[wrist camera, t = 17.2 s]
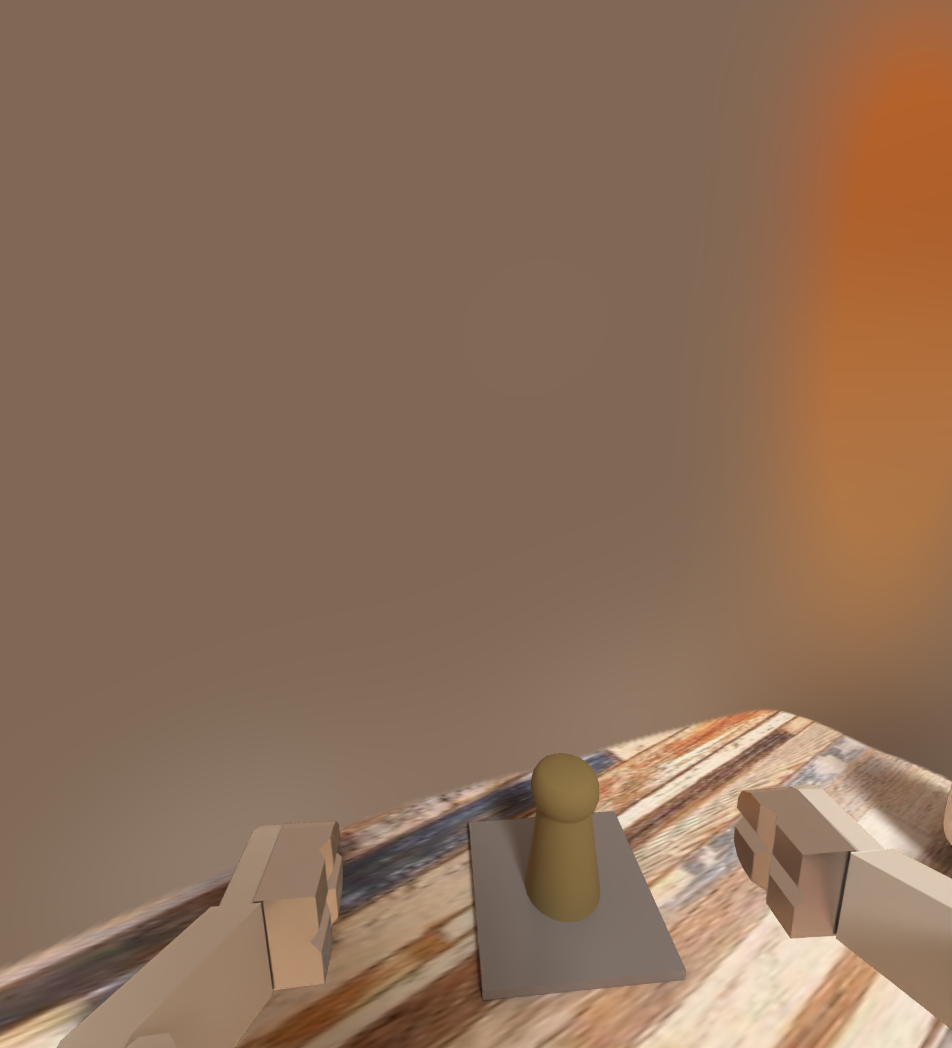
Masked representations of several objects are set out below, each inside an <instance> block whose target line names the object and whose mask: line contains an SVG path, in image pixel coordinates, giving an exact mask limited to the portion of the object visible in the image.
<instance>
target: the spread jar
mask: <svg viewBox="0 0 952 1048" xmlns="http://www.w3.org/2000/svg"><path fill="white" fill-rule="evenodd" d="M943 827H944V833H945V836H946V838H947V840H948V842H949V844H950V846H951V847H952V785H951V788H950V792H949V795H948V800H947V804H946V809H945V814H944V824H943Z"/></svg>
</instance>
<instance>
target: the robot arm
mask: <svg viewBox="0 0 952 1048" xmlns="http://www.w3.org/2000/svg"><path fill="white" fill-rule="evenodd" d="M737 808H738V810H739V811H740V812H741V814H742V815H743V817H742V818H741V819H740V821H739V822H738V823H737V824H736V826H735V833H734V843H735V847H736V852H737V856H738V858H739V860H740V863H741V865H742V867H743V869H744V871H745V872H746V874H747V875H748V877H749V878H750V880H751V881H752V882H754V883H755V884H757V885H758V886H760V887H761V888H763V889H764V890H766V903H767V905H768V906H769V908H770V909H771V911H772V912H773V914H774V915H775V916H776V918H777V919H778V921H779V922H780V924H781V925H782V927H783V928H784V930H785V931H786V933H787V934H788V935H789V937H790V938H805V937H821V936H836V939H837V940H839V941H840V942H841V943H843V944H844V945H845V946H846V947H848V948H849V949H850V950H851V951H853V952H854V953H855V954H857V955H858V956H859V957H860V958H862V959H863V960H864V961H865V962H867V963H868V964H869V965H870V966H872V967H873V968H874V969H876V970H877V971H878V972H879V973H881V974H882V975H883V976H884V977H886V978H887V979H888V980H890V981H891V982H892V983H893V984H895V985H896V986H897V987H898V988H900V989H901V990H902V991H904V992H905V993H906V994H907V995H909V996H910V997H911V998H912V999H914V1000H915V1001H916V1002H917V1003H919V1004H920V1005H921V1006H923V1007H924V1008H925V1009H926V1010H928V1011H929V1012H930V1013H931V1014H933V1015H934V1016H935V1017H937V1018H938V1019H939V1020H940V1021H942V1022H943V1023H944V1024H945V1025H947V1026H948V1027H949V1028H951V1029H952V879H951V878H949V877H947V876H945V875H943V874H941V873H939V872H937V871H936V870H934V869H932V868H930V867H928V866H926V865H924V864H922V863H920V862H918V861H916V860H914V859H912V858H910V857H908V856H906V855H904V854H902V853H900V852H898V851H896V850H894V849H884V848H883V847H882V846H881V845H880V844H879V843H878V842H877V841H876V840H875V839H874V838H873V837H872V836H870V835H869V834H868V833H867V832H866V831H865V830H864V829H863V828H862V827H861V826H860V825H859V824H858V823H857V822H856V821H855V820H854V819H853V818H852V817H851V816H850V815H849V814H848V813H846V812H845V811H844V810H843V809H842V808H841V807H840V806H839V805H838V804H837V803H836V802H835V801H834V800H833V799H832V798H831V797H830V796H829V795H828V794H827V793H826V792H825V791H824V790H823V789H821V788H820V787H818V786H816V785H814V784H811V785H800V786H790V787H781V788H769V789H757V790H745V791H742V792H741V794H740V795H739V797H738V804H737ZM339 841H340V832H339V824H338V823H337V822H336V821H332V822H310V823H288V824H284V825H260V826H258V827H257V828H256V829H255V830H254V831H253V832H252V834H251V836H250V838H249V841H248V843H247V845H246V847H245V849H244V852H243V854H242V856H241V858H240V861H239V863H238V865H237V867H236V869H235V872H234V874H233V876H232V878H231V881H230V883H229V885H228V887H227V889H226V892H225V894H224V896H223V898H222V901H221V903H220V905H219V906H215V907H210V908H209V909H208V910H207V911H205V912H204V913H203V914H202V915H201V916H200V917H199V918H198V919H196V920H195V921H194V922H193V923H192V924H191V925H190V926H189V927H187V928H186V929H185V930H184V931H183V932H182V933H181V934H180V935H179V936H177V937H176V938H175V939H174V940H173V941H172V942H171V943H170V944H168V945H167V946H166V947H165V948H164V949H163V950H162V951H161V952H160V953H158V954H157V955H156V956H155V957H154V958H153V959H152V960H151V961H149V962H148V963H147V964H146V965H145V966H144V967H143V968H142V969H141V970H139V971H138V972H137V973H136V974H135V975H134V976H133V977H132V978H130V979H129V980H128V981H127V982H126V983H125V984H124V985H123V986H122V987H120V988H119V989H118V990H117V991H116V992H115V993H114V994H113V995H111V996H110V997H109V998H108V999H107V1000H106V1001H105V1002H104V1003H103V1004H101V1005H100V1006H99V1007H98V1008H97V1009H96V1010H95V1011H94V1012H92V1013H91V1014H90V1015H89V1016H88V1017H87V1018H86V1019H85V1020H84V1021H82V1022H81V1023H80V1024H79V1025H78V1026H77V1027H76V1028H75V1029H73V1030H72V1031H71V1032H70V1033H69V1034H68V1035H67V1036H66V1037H65V1038H63V1039H62V1040H61V1041H60V1043H59V1045H58V1046H57V1048H235V1047H236V1045H237V1044H238V1042H239V1041H240V1040H241V1038H242V1037H243V1035H244V1034H245V1033H246V1031H247V1030H248V1028H249V1027H250V1026H251V1024H252V1023H253V1022H254V1020H255V1019H256V1017H257V1016H258V1015H259V1013H260V1012H261V1010H262V1009H263V1008H264V1006H265V1005H266V1004H267V1002H268V1001H269V999H270V998H271V997H272V995H273V990H281V989H289V988H296V987H304V986H311V985H319V984H325V979H326V974H327V969H328V964H329V960H330V955H331V950H332V945H333V938H332V926H331V925H332V924H333V922H334V921H335V920H336V919H337V918H338V915H339V909H340V904H341V896H342V886H343V864H342V857H341V856H340V855H339V854H338V853H337V850H338V846H339Z"/></svg>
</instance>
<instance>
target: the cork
mask: <svg viewBox="0 0 952 1048" xmlns="http://www.w3.org/2000/svg"><path fill="white" fill-rule="evenodd" d="M531 791H532V795H533V799H534V802H535V804H536V806H537V812H536V818H535V824H534V830H533V836H532V842H531V848H530V854H529V860H528V866H527V872H526V878H525V887H526V892H527V895H528V897H529V899H530V900H531V902H532V904H533V905H534V906H535V907H536V908H537V909H538V910H539V911H540V912H541V913H542V914H544V915H546V916H548V917H549V918H551V919H553V920H557V921H562V922H575V921H580V920H582V919H584V918H586V917H588V916H589V915H590V914H591V913H592V912H593V911H594V910H595V909H596V908H597V905H598V902H599V900H600V883H599V874H598V865H597V856H596V848H595V839H594V830H593V821H592V814H593V812H594V810H595V808H596V806H597V803H598V801H599V783H598V779H597V777H596V774H595V772H594V771H593V769H592V768H591V767H590V765H589V764H588V763H587V762H586V761H584V760H582V759H581V758H579V757H576V756H573V755H570V754H563V753H562V754H553V755H549V756H546V757H545V758H543V759H542V760H541V761H540V762H539V763H538V765H537V766H536V767H535V769H534V771H533V774H532V779H531Z"/></svg>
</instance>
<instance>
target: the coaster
mask: <svg viewBox="0 0 952 1048" xmlns="http://www.w3.org/2000/svg"><path fill="white" fill-rule="evenodd" d="M535 818H536V817H533V818H520V819H507V820H493V821H480V822H469V833H470V846H471V859H472V871H473V884H474V897H475V909H476V922H477V935H478V947H479V960H480V972H481V985H482V998H483V1000H491V999H501V998H510V997H520V996H530V995H540V994H549V993H559V992H569V991H579V990H588V989H598V988H608V987H618V986H627V985H637V984H647V983H657V982H667V981H676V980H685V975H686V969H685V967H684V965H683V963H682V961H681V958H680V956H679V954H678V952H677V949H676V947H675V945H674V943H673V941H672V938H671V936H670V934H669V932H668V930H667V927H666V925H665V923H664V921H663V918H662V916H661V914H660V912H659V910H658V907H657V905H656V903H655V901H654V898H653V896H652V894H651V892H650V890H649V887H648V885H647V883H646V881H645V878H644V876H643V874H642V872H641V870H640V867H639V865H638V863H637V861H636V858H635V856H634V854H633V852H632V850H631V847H630V845H629V843H628V841H627V839H626V836H625V834H624V832H623V830H622V827H621V825H620V823H619V821H618V819H617V816H616V814H615V812H614V811H612V812H599V813H593V814H592V821H593V830H594V839H595V848H596V856H597V865H598V874H599V883H600V900H599V902H598V905H597V908H596V909H595V910H594V911H593V912H592V913H591V914H590V915H589V916H588V917H586V918H584V919H582V920H580V921H575V922H562V921H557V920H553V919H551V918H549V917H548V916H546V915H544V914H542V913H541V912H540V911H539V910H538V909H537V908H536V907H535V906H534V905H533V904H532V902H531V900H530V899H529V897H528V895H527V892H526V887H525V878H526V872H527V866H528V860H529V854H530V848H531V842H532V836H533V830H534V824H535Z"/></svg>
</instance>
